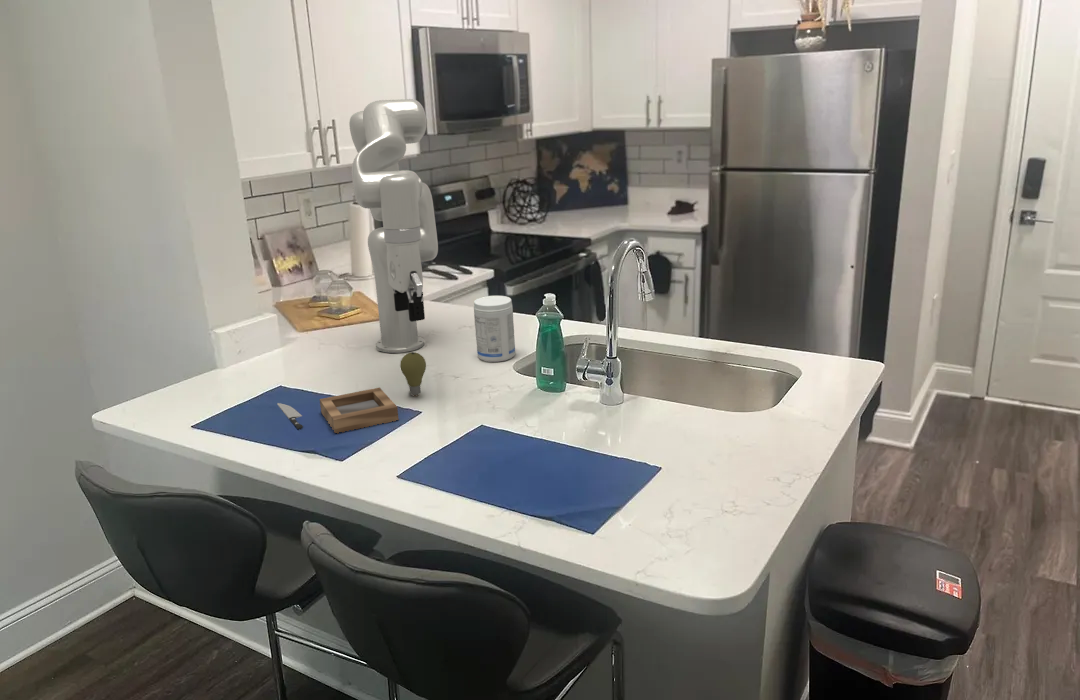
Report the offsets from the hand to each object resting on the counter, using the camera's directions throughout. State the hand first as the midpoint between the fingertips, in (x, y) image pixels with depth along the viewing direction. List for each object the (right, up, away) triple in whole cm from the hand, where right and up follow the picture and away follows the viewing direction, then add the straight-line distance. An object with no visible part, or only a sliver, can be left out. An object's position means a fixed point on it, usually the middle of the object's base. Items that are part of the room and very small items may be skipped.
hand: (409, 315), depth 173 cm
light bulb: (0, -18, +6) cm, 19 cm away
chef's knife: (-24, -21, -1) cm, 33 cm away
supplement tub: (+17, -9, +29) cm, 35 cm away
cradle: (-10, -21, -4) cm, 24 cm away
